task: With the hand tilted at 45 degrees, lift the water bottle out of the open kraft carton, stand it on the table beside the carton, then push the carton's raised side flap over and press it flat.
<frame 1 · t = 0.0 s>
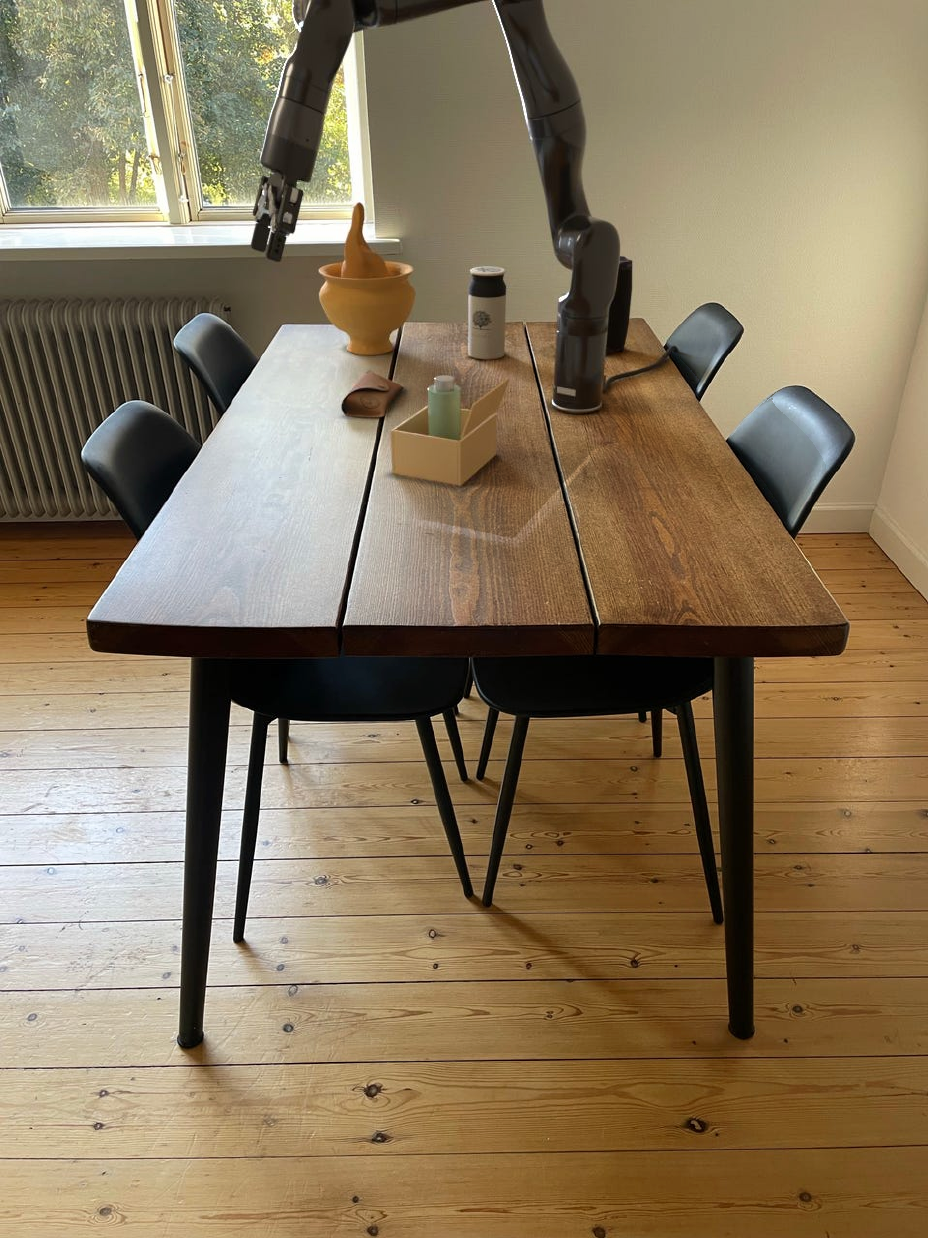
hand: (264, 254, 138), 31 cm above the table, tool tilted 20°, fingers open, 8 cm apart
travel mug: (486, 356, 204), on the table
decorative bowl: (370, 349, 208), on the table
portable speaker: (606, 351, 207), on the table
water bottle: (445, 463, 150), resting on carton
flap: (485, 407, 142), point 11 cm above the table, hinge at 110.0°
carton: (445, 466, 150), on the table
leather pouch: (374, 402, 177), on the table
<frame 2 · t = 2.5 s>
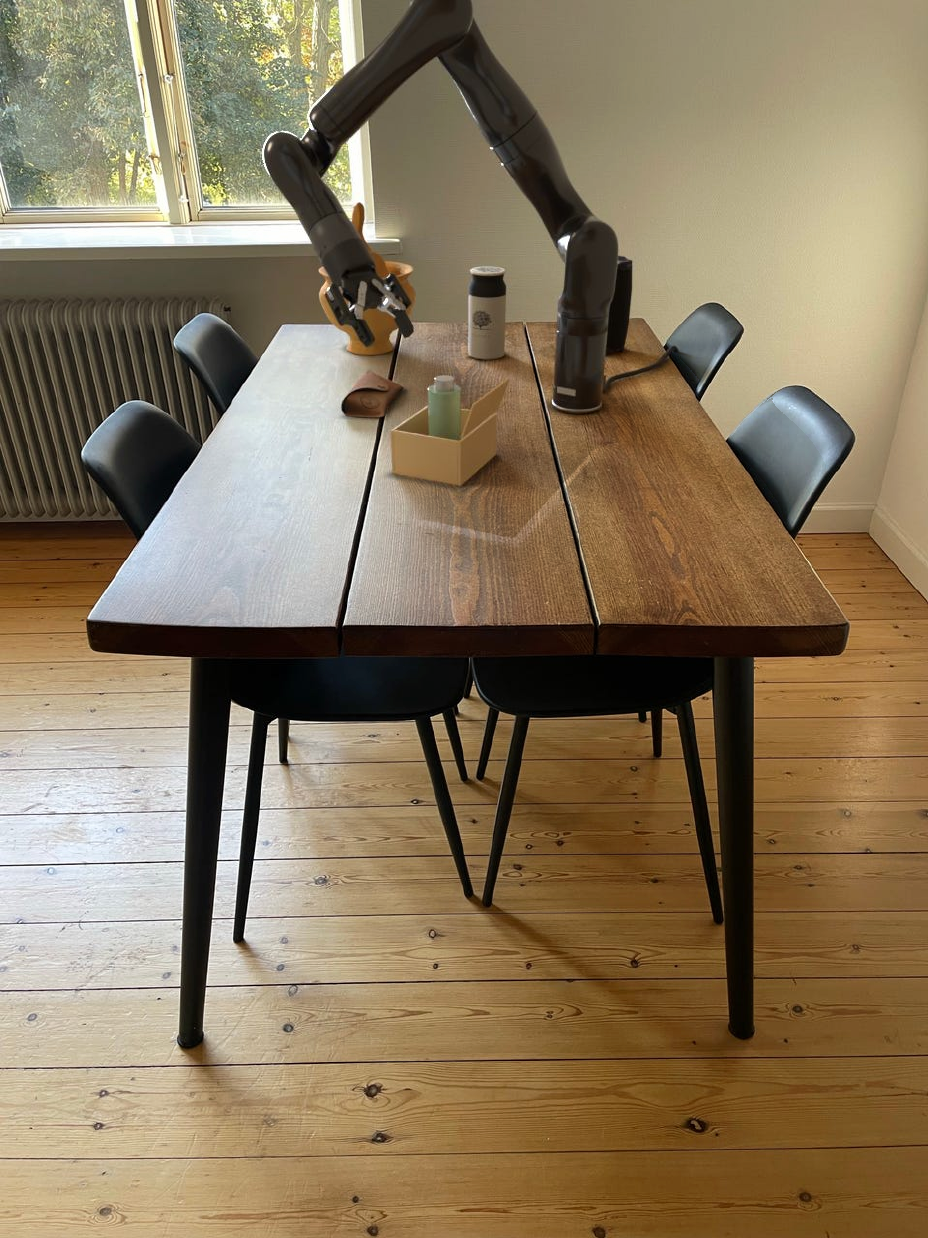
hand: (390, 339, 147), 18 cm above the table, tool tilted 45°, fingers open, 8 cm apart
nothing on the table moved.
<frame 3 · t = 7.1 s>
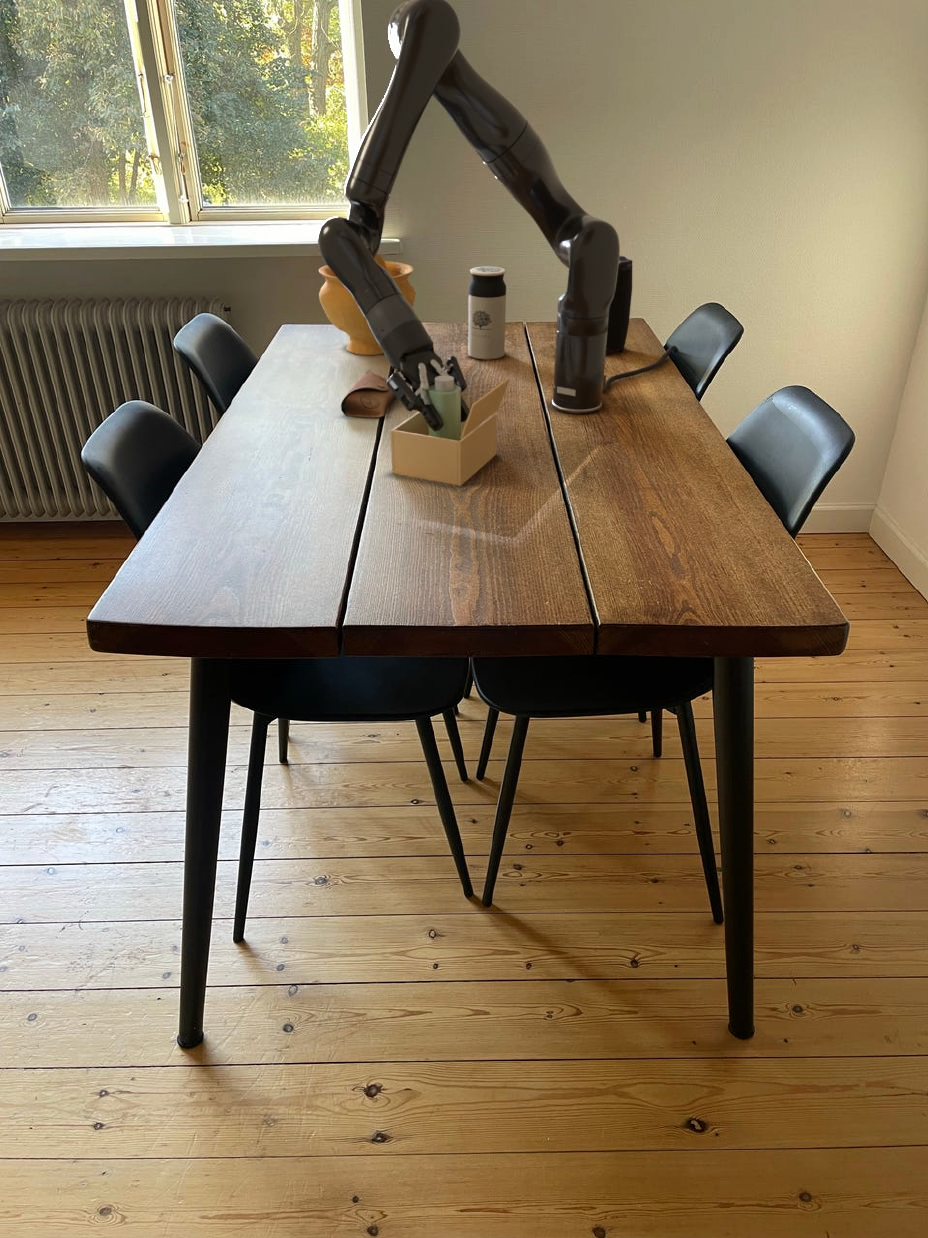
hand: (452, 423, 145), 8 cm above the table, tool tilted 45°, fingers closed on water bottle, 5 cm apart
water bottle: (445, 463, 150), point 1 cm above the table, touching carton, gripper
everything else where it was.
when the fingers open (7 cm above the table, at t = 15.8 s): water bottle stays where it is, on the table.
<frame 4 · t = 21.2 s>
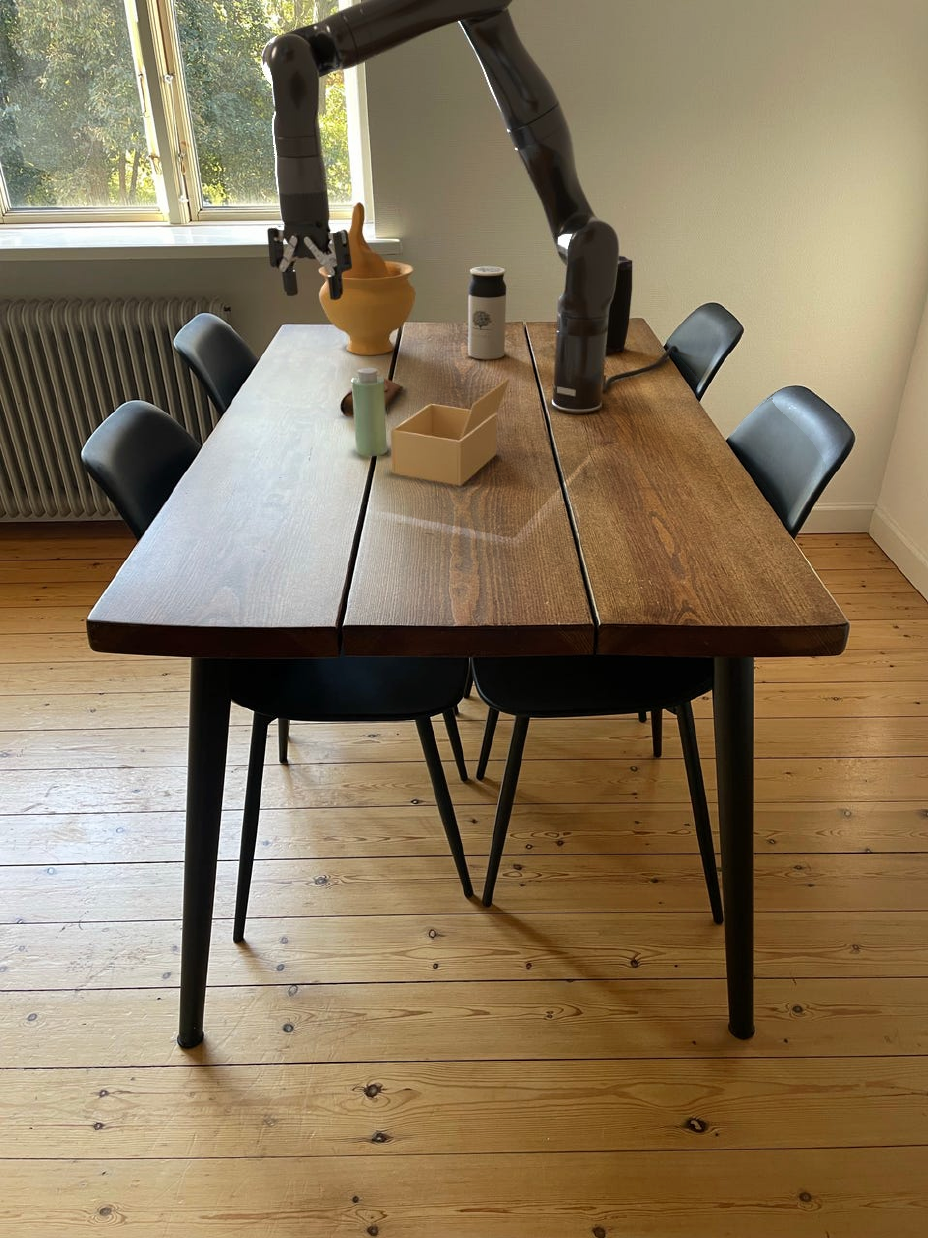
hand: (313, 296, 150), 23 cm above the table, tool pointing down, fingers open, 8 cm apart
water bottle: (371, 452, 155), on the table
everything else where it was.
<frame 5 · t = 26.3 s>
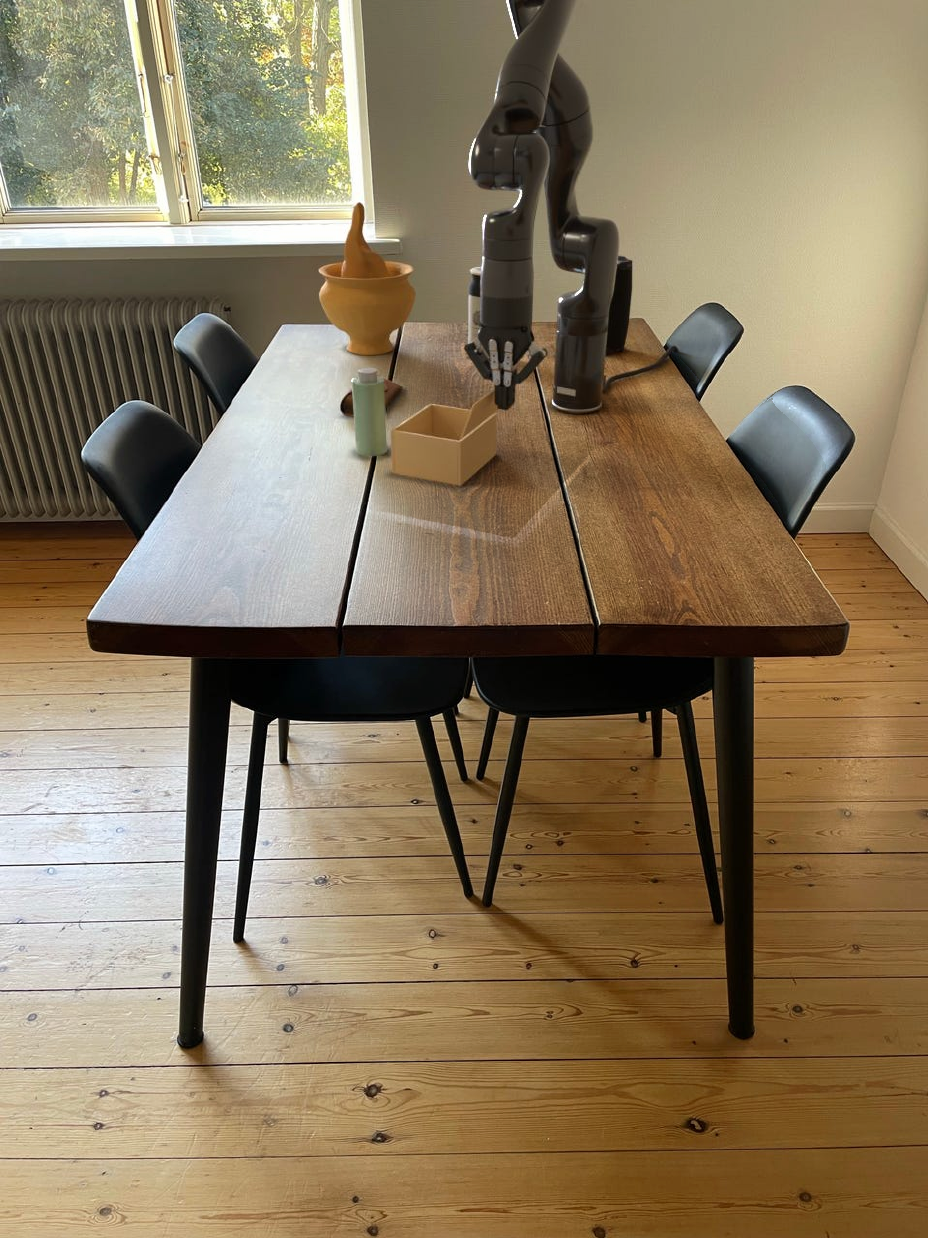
hand: (504, 408, 140), 11 cm above the table, tool pointing down, fingers closed
flap: (485, 407, 142), point 11 cm above the table, hinge at 110.3°, touching gripper
everything else where it was.
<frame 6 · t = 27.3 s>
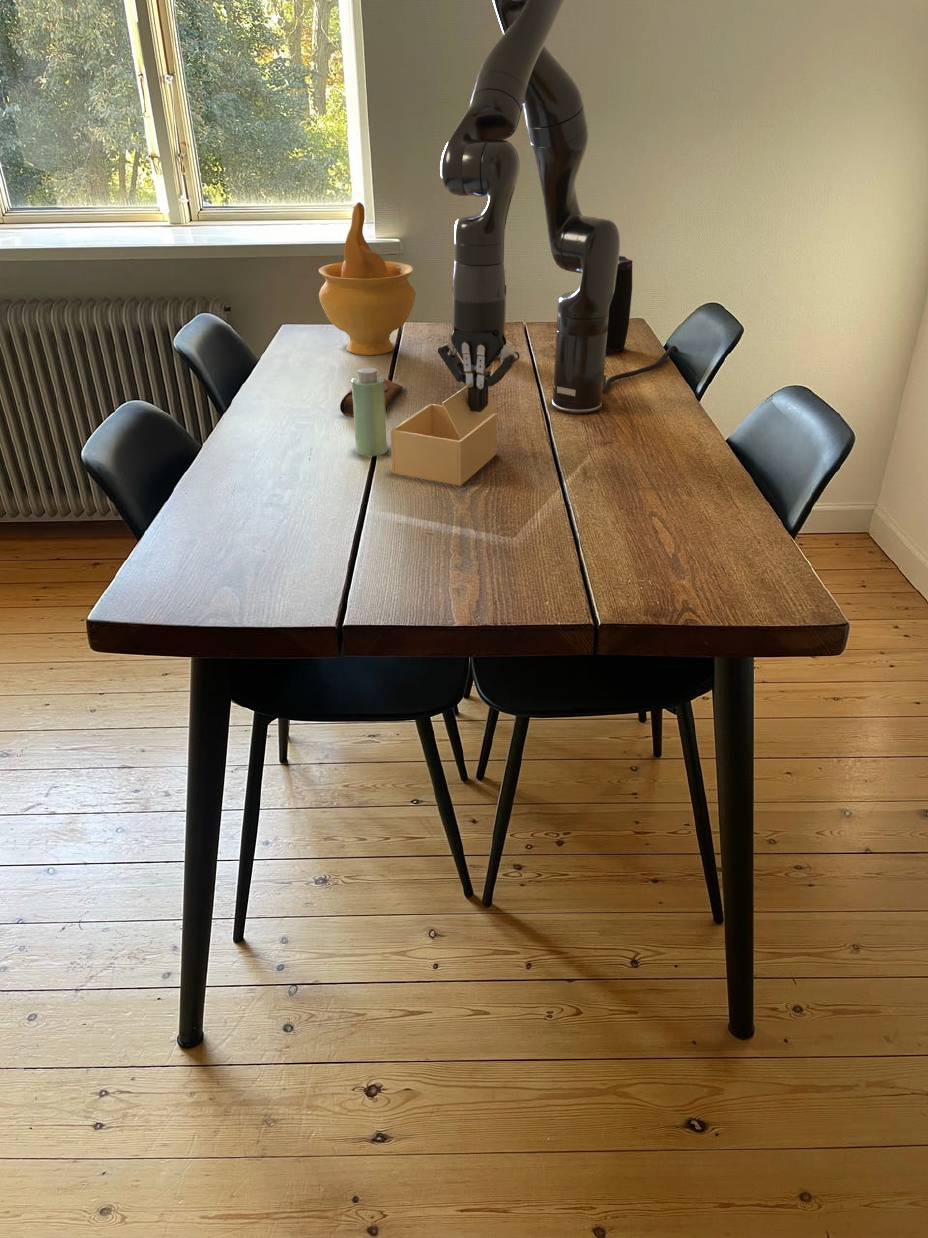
hand: (477, 410, 142), 10 cm above the table, tool pointing down, fingers closed
flap: (470, 406, 143), point 11 cm above the table, hinge at 59.0°, touching gripper
everything else where it was.
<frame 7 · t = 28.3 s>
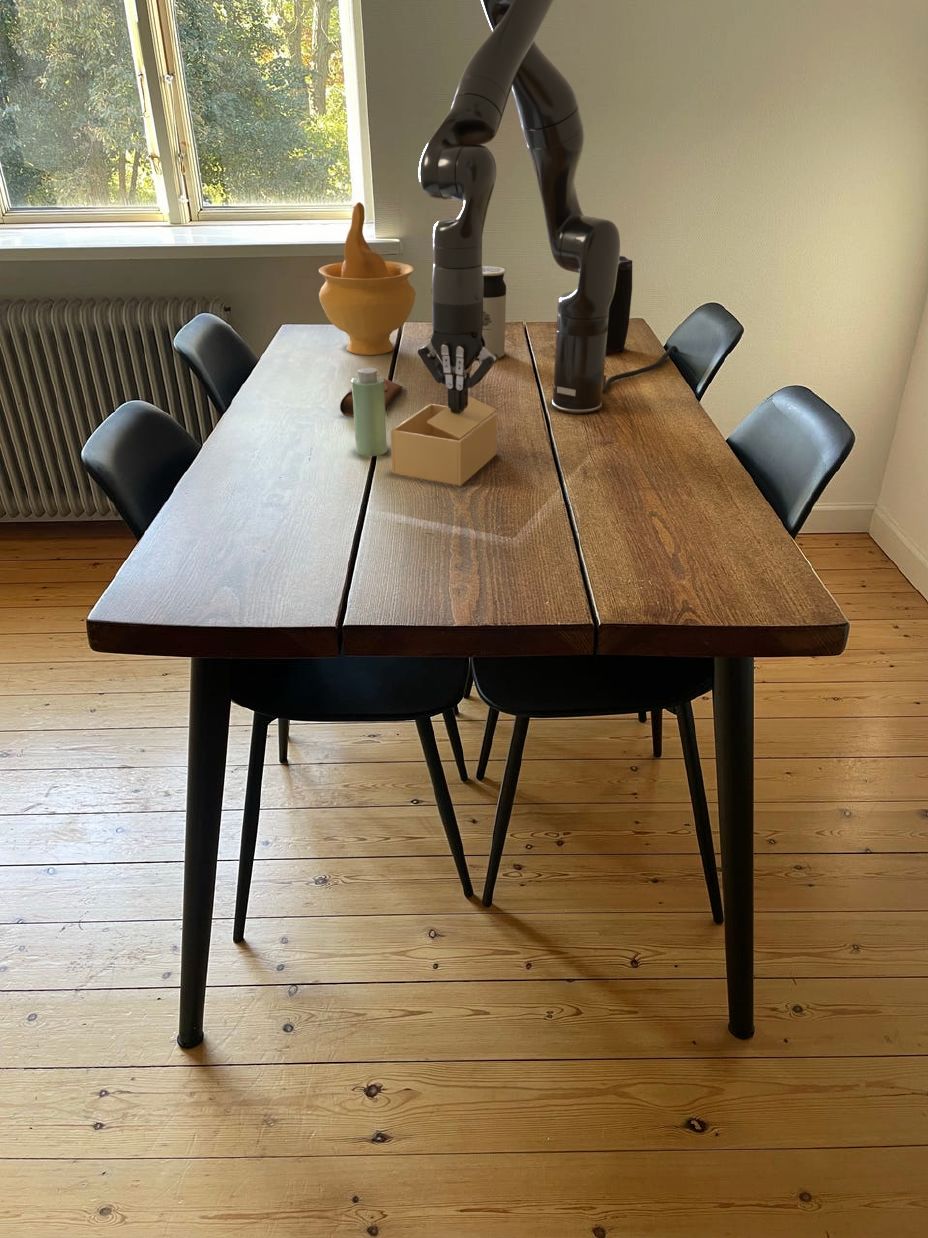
hand: (457, 411, 144), 10 cm above the table, tool pointing down, fingers closed
flap: (462, 415, 144), point 9 cm above the table, hinge at 17.2°, touching gripper
everything else where it was.
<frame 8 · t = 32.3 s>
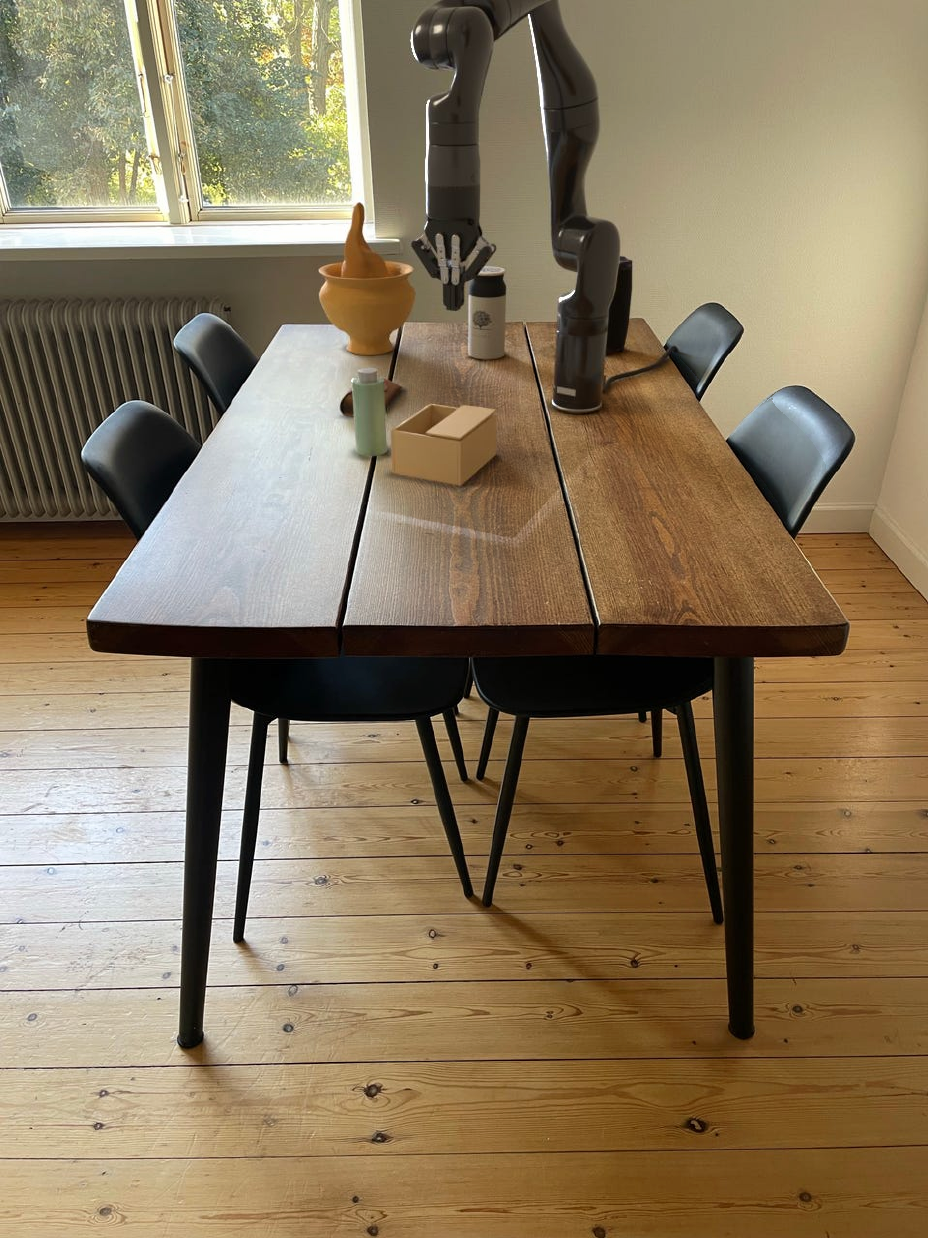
hand: (453, 309, 136), 25 cm above the table, tool pointing down, fingers closed
flap: (462, 421, 145), point 8 cm above the table, hinge at -0.8°
everything else where it was.
at the end: water bottle inside the target area (0.1 cm from its centre), on the table; water bottle tilted 0°; flap at -1° (first picture: +110°) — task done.
